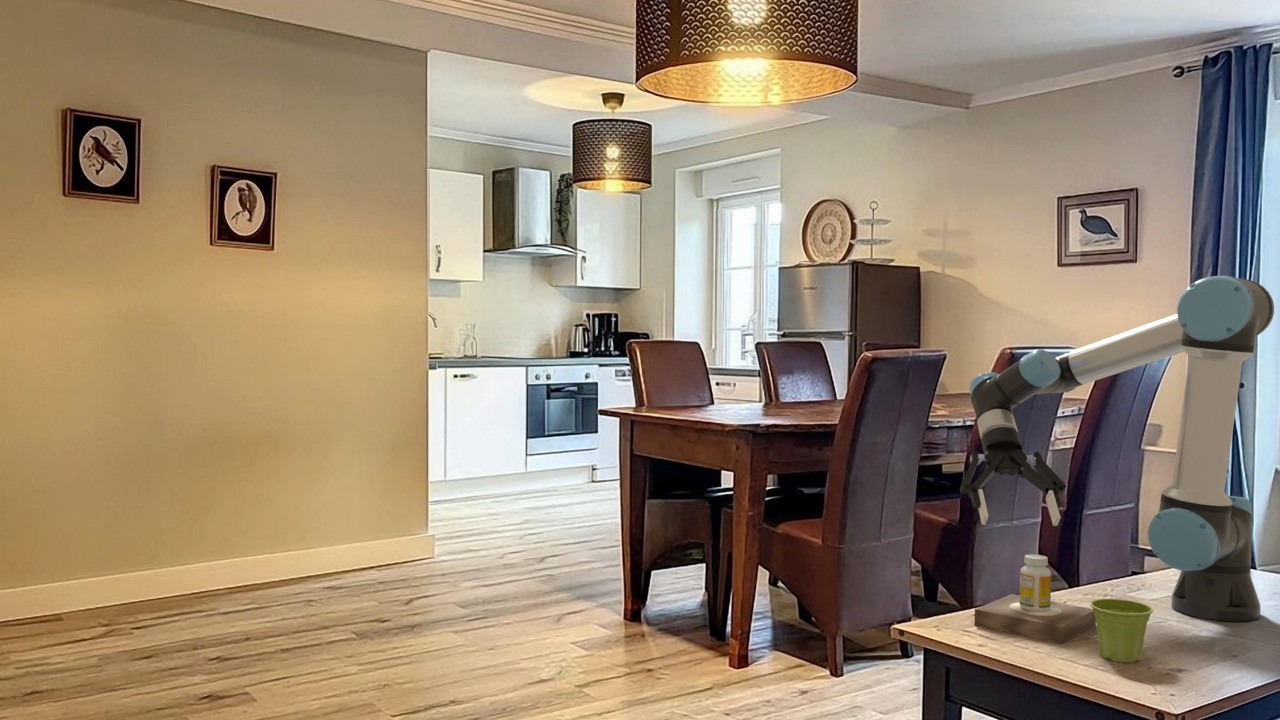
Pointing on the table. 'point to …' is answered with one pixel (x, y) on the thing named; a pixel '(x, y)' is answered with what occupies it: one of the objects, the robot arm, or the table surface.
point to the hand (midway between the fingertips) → (1021, 521)
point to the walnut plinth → (1035, 619)
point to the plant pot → (1121, 628)
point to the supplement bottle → (1035, 584)
